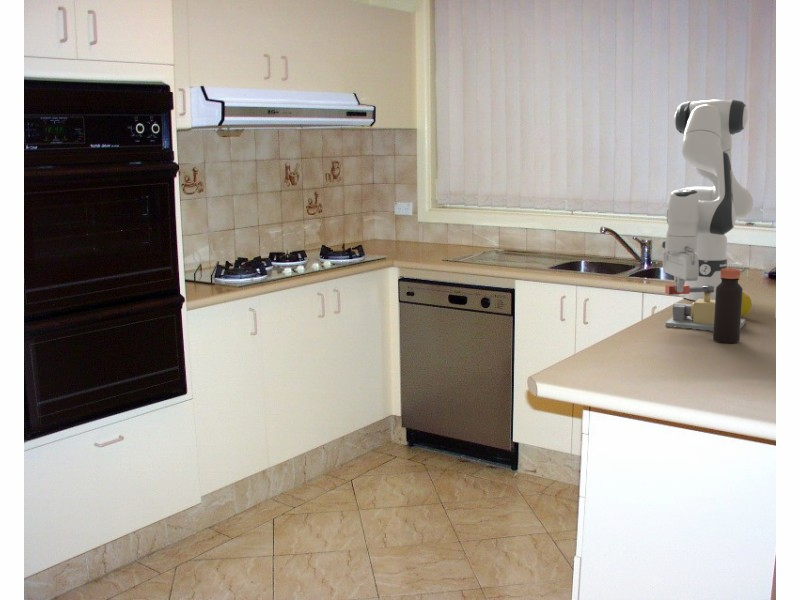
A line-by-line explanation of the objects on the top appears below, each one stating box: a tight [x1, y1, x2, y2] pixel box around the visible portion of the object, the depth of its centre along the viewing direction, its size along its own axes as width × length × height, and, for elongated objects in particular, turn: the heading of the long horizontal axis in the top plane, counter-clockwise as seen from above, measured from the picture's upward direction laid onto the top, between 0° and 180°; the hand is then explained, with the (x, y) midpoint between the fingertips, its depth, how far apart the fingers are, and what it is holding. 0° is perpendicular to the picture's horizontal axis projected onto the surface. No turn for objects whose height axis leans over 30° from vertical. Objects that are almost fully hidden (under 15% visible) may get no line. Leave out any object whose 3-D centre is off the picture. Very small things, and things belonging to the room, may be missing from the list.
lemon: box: [741, 292, 753, 319], centre depth 261 cm, size 6×6×8 cm
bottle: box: [712, 267, 743, 344], centre depth 230 cm, size 7×7×20 cm
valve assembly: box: [665, 292, 746, 332], centre depth 251 cm, size 20×16×10 cm
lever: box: [664, 284, 714, 296], centre depth 250 cm, size 4×14×2 cm, turn 97°
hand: (679, 291), depth 247 cm, fingers closed
